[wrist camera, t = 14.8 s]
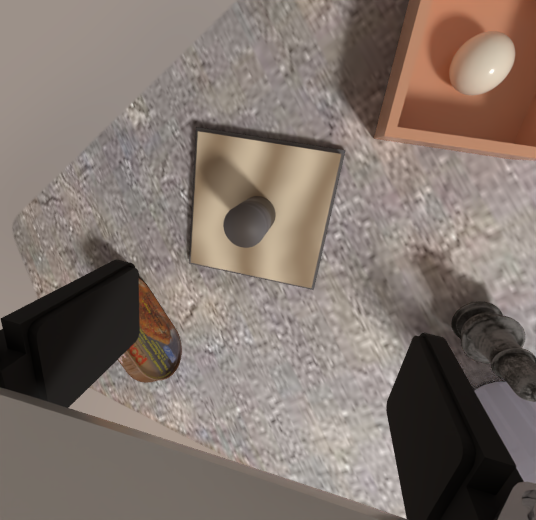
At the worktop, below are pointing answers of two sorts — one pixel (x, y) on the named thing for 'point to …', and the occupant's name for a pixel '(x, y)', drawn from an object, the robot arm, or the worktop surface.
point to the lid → (261, 207)
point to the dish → (464, 78)
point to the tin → (152, 342)
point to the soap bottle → (512, 424)
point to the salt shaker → (497, 345)
